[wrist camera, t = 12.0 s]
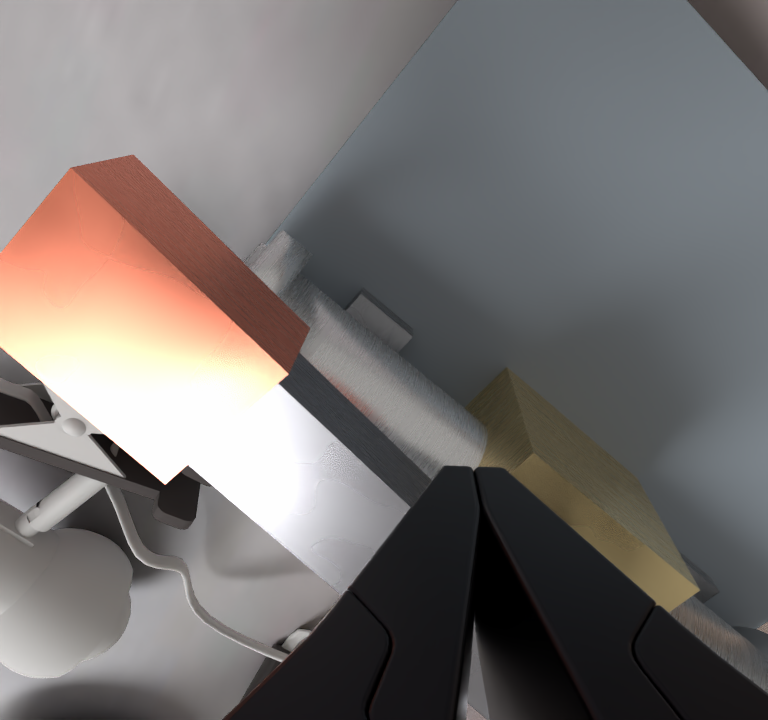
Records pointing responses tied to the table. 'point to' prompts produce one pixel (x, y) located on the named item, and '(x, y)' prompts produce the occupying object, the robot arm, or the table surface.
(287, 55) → the table surface
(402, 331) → the pipe and valve
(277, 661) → the clip-on lamp
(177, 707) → the table surface
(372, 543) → the lever
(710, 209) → the slate board
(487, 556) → the robot arm
